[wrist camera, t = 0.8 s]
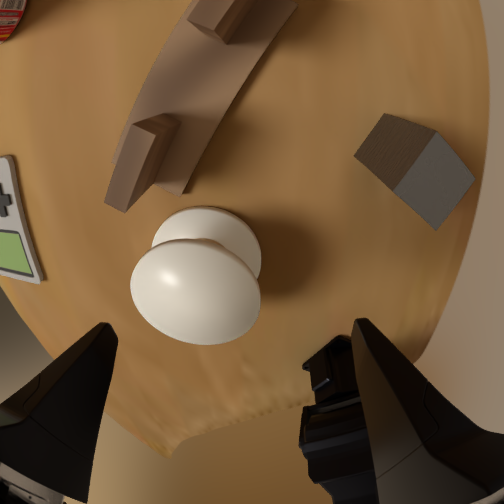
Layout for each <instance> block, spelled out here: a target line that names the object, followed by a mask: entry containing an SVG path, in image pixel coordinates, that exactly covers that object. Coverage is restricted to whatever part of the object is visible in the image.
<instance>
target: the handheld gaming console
mask: <svg viewBox="0 0 504 504" xmlns="http://www.w3.org/2000/svg"><path fill="white" fill-rule="evenodd" d="M0 275H3V276H7V277H11V278H15V279H19V280H23V281H27V282H31V283H35V284H40V283H41V281H42V280H43V274H42V271H41V268H40V265H39V262H38V259H37V256H36V253H35V250H34V247H33V244H32V241H31V237H30V234H29V230H28V226H27V223H26V219H25V215H24V211H23V207H22V202H21V198H20V193H19V188H18V183H17V177H16V171H15V165H14V161H13V158H12V157H11V156H10V155H7V156H1V157H0Z"/></svg>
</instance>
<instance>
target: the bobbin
mask: <svg viewBox="0 0 504 504" xmlns="http://www.w3.org/2000/svg"><path fill="white" fill-rule="evenodd" d="M260 269H261V250H260V245H259V242H258V240H257V238H256V236H255V234H254V232H253V231H252V230H251V228H250V227H249V226H248V225H247V224H246V223H245V222H244V221H243V220H241V219H240V218H239V217H237V216H235V215H234V214H232V213H230V212H228V211H226V210H223V209H220V208H216V207H210V206H194V207H189V208H185V209H182V210H180V211H178V212H176V213H174V214H172V215H171V216H170V217H168V218H167V219H166V220H165V221H164V222H163V224H162V225H161V226H160V228H159V229H158V231H157V233H156V235H155V237H154V240H153V243H152V248H151V249H149V250H148V251H147V252H146V253H145V254H144V255H143V256H142V258H141V259H140V260H139V262H138V264H137V265H136V267H135V269H134V271H133V274H132V277H131V285H130V286H131V294H132V298H133V301H134V303H135V305H136V307H137V309H138V310H139V312H140V313H141V315H142V316H143V317H144V318H145V319H146V320H147V321H148V322H149V323H150V324H151V325H152V326H153V327H155V328H156V329H158V330H159V331H161V332H162V333H164V334H166V335H168V336H170V337H172V338H175V339H177V340H180V341H184V342H187V343H192V344H200V345H213V344H221V343H225V342H229V341H232V340H234V339H236V338H238V337H240V336H242V335H243V334H245V333H246V332H247V331H248V330H249V329H251V327H252V326H253V325H254V324H255V322H256V320H257V318H258V315H259V312H260V300H261V297H260V288H259V284H258V281H257V278H258V276H259V273H260Z"/></svg>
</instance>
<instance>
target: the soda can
mask: <svg viewBox="0 0 504 504" xmlns="http://www.w3.org/2000/svg"><path fill="white" fill-rule="evenodd" d="M26 2H27V0H0V44H1V43H2V42H4V41H5V40H6V39H7V38H8V37H9V36H10V34H11V33H12V32H13V30H14V29H15V27H16V26H17V24H18V23H19V21H20V19H21V17H22V15H23V13H24V10H25V6H26Z"/></svg>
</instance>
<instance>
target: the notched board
mask: <svg viewBox="0 0 504 504" xmlns="http://www.w3.org/2000/svg"><path fill="white" fill-rule="evenodd" d="M297 7H298V3H296V2H294V1H292V0H192V2H191V3H190V5H189V6H188V8H187V9H186V10H185V12H184V14H183V15H182V17H181V18H180V20H179V21H178V23H177V24H176V26H175V28H174V29H173V31H172V33H171V34H170V36H169V38H168V39H167V41H166V43H165V44H164V46H163V48H162V50H161V51H160V53H159V55H158V57H157V59H156V61H155V62H154V64H153V66H152V68H151V70H150V72H149V74H148V76H147V78H146V80H145V82H144V84H143V86H142V88H141V90H140V93H139V95H138V97H137V99H136V101H135V104H134V106H133V108H132V110H131V113H130V115H129V117H128V120H127V122H126V125H125V127H124V130H123V132H122V135H121V137H120V140H119V143H118V145H117V148H116V151H115V154H114V157H113V159H112V162H111V163H113V164H115V165H116V166H115V169H114V172H113V175H112V178H111V181H110V184H109V187H108V191H107V194H106V197H105V201H104V203H106V204H108V205H110V206H112V207H114V208H116V209H117V210H119V211H121V212H123V213H126V212H127V210H128V209H129V208H130V207H131V206H132V205H133V204H134V203H135V202H136V201H137V200H138V199H139V198H140V197H141V196H142V195H143V193H144V192H145V191H146V190H147V189H148V188H149V187H150V186H151V185H152V184H155V185H157V186H159V187H161V188H163V189H165V190H167V191H169V192H171V193H173V194H175V195H176V196H178V197H180V196H181V195H182V193H183V191H184V189H185V187H186V185H187V183H188V181H189V179H190V177H191V175H192V173H193V171H194V169H195V167H196V166H197V164H198V162H199V160H200V158H201V156H202V154H203V152H204V150H205V149H206V147H207V145H208V143H209V141H210V140H211V138H212V136H213V134H214V132H215V131H216V129H217V127H218V125H219V124H220V122H221V120H222V118H223V117H224V115H225V113H226V112H227V110H228V108H229V107H230V105H231V103H232V102H233V100H234V98H235V97H236V95H237V93H238V92H239V90H240V89H241V87H242V85H243V84H244V82H245V81H246V79H247V78H248V76H249V74H250V73H251V71H252V70H253V68H254V67H255V65H256V64H257V62H258V61H259V59H260V58H261V56H262V55H263V53H264V52H265V50H266V49H267V47H268V46H269V45H270V43H271V42H272V40H273V39H274V37H275V36H276V35H277V33H278V32H279V30H280V29H281V28H282V26H283V25H284V24H285V22H286V21H287V20H288V18H289V17H290V16H291V14H292V13H293V12H294V10H295V9H296V8H297Z"/></svg>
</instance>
